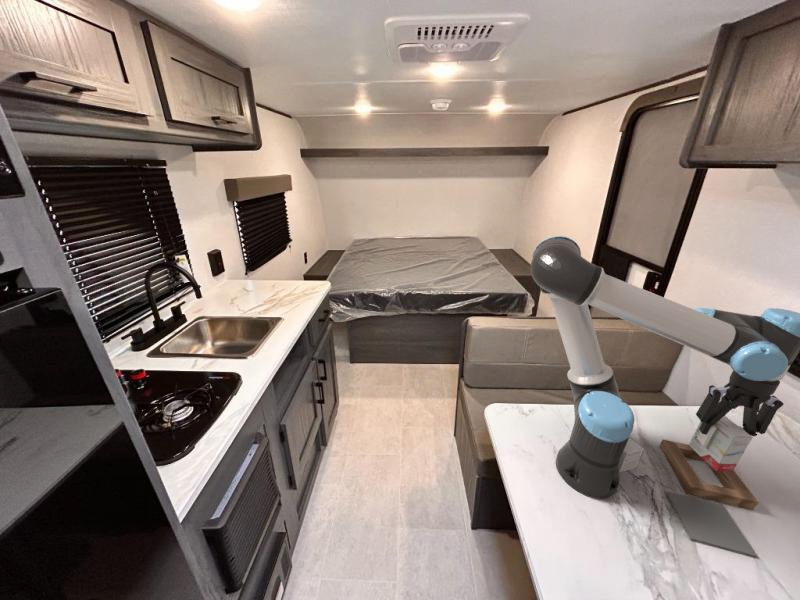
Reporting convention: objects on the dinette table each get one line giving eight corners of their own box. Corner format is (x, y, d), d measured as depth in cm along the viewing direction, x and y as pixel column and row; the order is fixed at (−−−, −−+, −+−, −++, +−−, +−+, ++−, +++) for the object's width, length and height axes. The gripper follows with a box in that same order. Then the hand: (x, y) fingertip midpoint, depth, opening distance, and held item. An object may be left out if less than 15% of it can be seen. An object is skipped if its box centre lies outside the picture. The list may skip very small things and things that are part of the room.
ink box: (733, 472, 81) (755, 437, 77) (714, 471, 81) (735, 436, 77) (704, 445, 89) (722, 412, 85) (687, 444, 89) (704, 411, 85)
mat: (690, 540, 72) (691, 538, 72) (665, 492, 83) (666, 490, 82) (755, 557, 69) (757, 556, 69) (721, 506, 80) (722, 504, 79)
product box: (618, 473, 88) (626, 453, 85) (600, 455, 93) (607, 436, 90) (635, 468, 89) (644, 449, 86) (617, 451, 95) (624, 432, 92)
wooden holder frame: (686, 494, 82) (690, 486, 81) (659, 446, 97) (662, 439, 95) (753, 510, 79) (758, 502, 78) (714, 458, 93) (719, 451, 92)
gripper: (719, 373, 74) (681, 447, 83) (824, 391, 69) (771, 467, 78) (701, 356, 80) (668, 426, 89) (795, 371, 76) (750, 443, 85)
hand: (716, 445), depth 84 cm, fingers closed on ink box, 6 cm apart
